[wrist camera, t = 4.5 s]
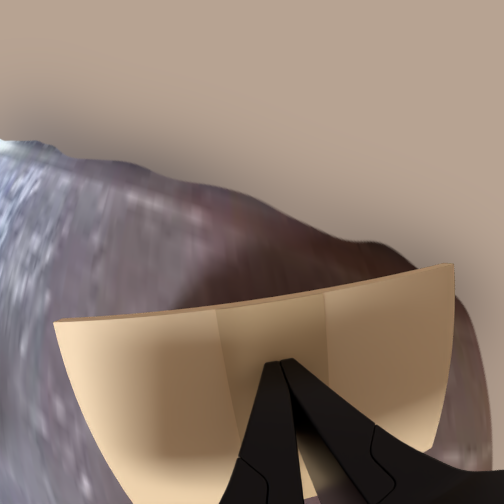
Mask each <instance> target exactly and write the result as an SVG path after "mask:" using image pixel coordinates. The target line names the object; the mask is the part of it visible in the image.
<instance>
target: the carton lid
mask: <svg viewBox="0 0 504 504" xmlns="http://www.w3.org/2000/svg"><path fill="white" fill-rule="evenodd" d="M454 310H455V276H454V264H451V263H442V264H438V265H434V266H430V267H426V268H422V269H417V270H412V271H408V272H403V273H399V274H394V275H390V276H385V277H380V278H375V279H370V280H366V281H361V282H355V283H350V284H345V285H340V286H334V287H329V288H323V289H318V290H312V291H306V292H300V293H294V294H288V295H282V296H276V297H269V298H263V299H256V300H249V301H242V302H235V303H227V304H220V305H212V306H204V307H195V308H187V309H178V310H168V311H158V312H148V313H137V314H125V315H112V316H98V317H82V318H63V319H60V320H58V321H55V322H53V323H54V328H55V332H56V336H57V340H58V343H59V347H60V351H61V354H62V358H63V361H64V364H65V367H66V370H67V373H68V376H69V379H70V382H71V385H72V388H73V390H74V393H75V396H76V398H77V401H78V403H79V406H80V408H81V410H82V413H83V415H84V417H85V420H86V422H87V424H88V426H89V428H90V431H91V433H92V435H93V437H94V439H95V441H96V443H97V445H98V447H99V449H100V450H101V452H102V454H103V456H104V458H105V460H106V461H107V463H108V465H109V467H110V468H111V470H112V472H113V473H114V475H115V477H116V478H117V480H118V482H119V483H120V485H121V486H122V488H123V489H124V491H125V492H126V494H127V495H128V497H129V498H130V500H131V501H132V502H133V504H219V502H220V500H221V498H222V496H223V494H224V492H225V489H226V487H227V485H228V482H229V480H230V477H231V474H232V472H233V469H234V466H235V463H236V459H237V458H238V454H239V450H240V447H241V444H242V441H243V437H244V434H245V431H246V427H247V424H248V420H249V417H250V413H251V410H252V406H253V403H254V399H255V396H256V392H257V389H258V385H259V381H260V378H261V374H262V370H263V366H264V364H265V363H266V362H271V361H280V360H282V359H288V358H294V359H296V360H297V361H298V362H299V363H300V364H302V365H303V366H304V367H305V368H306V369H308V370H309V371H310V372H311V373H312V374H314V375H315V376H316V377H317V378H318V379H320V380H321V381H322V382H323V383H325V384H326V385H327V386H328V387H330V388H331V389H332V390H333V391H335V392H336V393H337V394H338V395H340V396H341V397H342V398H343V399H345V400H346V401H347V402H348V403H350V404H351V405H352V406H354V407H355V408H356V409H357V410H359V411H360V412H361V413H363V414H364V415H365V416H367V417H368V418H369V419H371V420H372V421H373V422H375V425H376V424H377V425H379V426H380V427H382V428H383V429H384V430H386V431H387V432H388V433H390V434H391V435H393V436H394V437H396V438H397V439H399V440H400V441H402V442H404V443H406V444H407V445H409V446H411V447H413V448H415V449H416V450H418V451H420V452H422V453H423V452H424V451H426V450H428V449H430V448H432V445H433V441H434V438H435V435H436V431H437V427H438V424H439V420H440V415H441V411H442V407H443V402H444V397H445V392H446V387H447V381H448V375H449V368H450V361H451V352H452V342H453V330H454ZM298 454H299V462H300V471H301V479H302V487H303V496H304V499H305V498H309V497H313V496H317V493H316V491H315V488H314V486H313V483H312V481H311V479H310V476H309V474H308V471H307V469H306V466H305V464H304V461H303V459H302V456H301V454H300V451H299V449H298Z"/></svg>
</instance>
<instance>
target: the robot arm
mask: <svg viewBox="0 0 504 504" xmlns="http://www.w3.org/2000/svg"><path fill="white" fill-rule="evenodd" d="M298 449H299V451H300V454H301V456H302V459H303V461H304V464H305V466H306V469H307V471H308V474H309V476H310V479H311V481H312V483H313V486H314V488H315V491H316V493H317V496H318V498H319V500H320V503H321V504H504V470H497V471H496V470H495V471H466V470H461V469H458V468H455V467H452V466H450V465H448V464H445V463H443V462H441V461H439V460H437V459H435V458H433V457H430V456H428V455H426V454H424V453H422V452H420V451H418V450H416V449H415V448H413V447H411V446H409V445H407V444H406V443H404V442H402V441H400V440H399V439H397V438H396V437H394V436H393V435H391V434H390V433H388V432H387V431H386V430H384V429H383V428H382V427H380V426H379V425H377V424H376V425H375V422H373V421H372V420H371V419H369V418H368V417H367V416H365V415H364V414H363V413H361V412H360V411H359V410H357V409H356V408H355V407H354V406H352V405H351V404H350V403H348V402H347V401H346V400H345V399H343V398H342V397H341V396H340V395H338V394H337V393H336V392H335V391H333V390H332V389H331V388H330V387H328V386H327V385H326V384H325V383H323V382H322V381H321V380H320V379H318V378H317V377H316V376H315V375H314V374H312V373H311V372H310V371H309V370H308V369H306V368H305V367H304V366H303V365H302V364H300V363H299V362H298V361H297V360H296V359H294V358H288V359H282V360H280V361H271V362H266V363H265V364H264V366H263V370H262V374H261V378H260V381H259V385H258V389H257V392H256V396H255V399H254V403H253V406H252V410H251V413H250V417H249V420H248V424H247V427H246V431H245V434H244V437H243V441H242V444H241V447H240V450H239V454H238V458H237V459H236V463H235V466H234V469H233V472H232V474H231V477H230V480H229V482H228V485H227V487H226V489H225V492H224V494H223V496H222V498H221V500H220V502H219V504H304V496H303V487H302V479H301V471H300V462H299V454H298Z"/></svg>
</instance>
